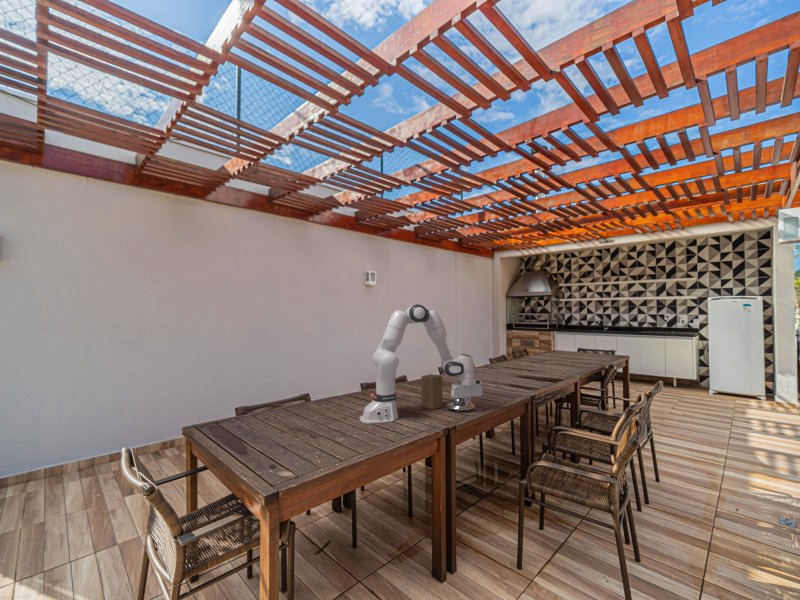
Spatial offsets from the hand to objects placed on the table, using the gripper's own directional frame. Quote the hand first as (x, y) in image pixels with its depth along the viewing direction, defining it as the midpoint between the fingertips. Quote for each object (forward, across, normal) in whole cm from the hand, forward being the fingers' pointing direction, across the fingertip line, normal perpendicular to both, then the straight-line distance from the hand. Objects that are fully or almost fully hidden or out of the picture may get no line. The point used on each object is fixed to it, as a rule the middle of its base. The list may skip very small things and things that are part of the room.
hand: (466, 404), depth 217 cm
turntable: (+5, 0, +8) cm, 9 cm away
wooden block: (+5, -14, +20) cm, 24 cm away
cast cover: (+2, -1, +7) cm, 8 cm away
